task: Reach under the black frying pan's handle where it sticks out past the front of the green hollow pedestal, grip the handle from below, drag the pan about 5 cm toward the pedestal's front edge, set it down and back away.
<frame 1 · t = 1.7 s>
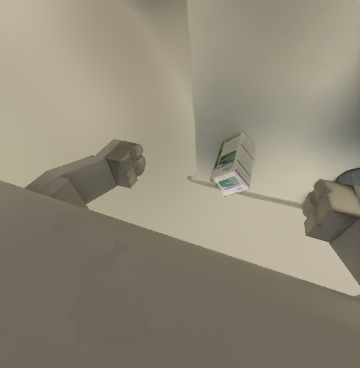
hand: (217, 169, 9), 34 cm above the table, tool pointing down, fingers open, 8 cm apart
syrup box: (239, 144, 45), on the table
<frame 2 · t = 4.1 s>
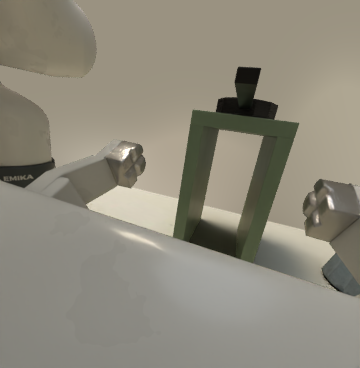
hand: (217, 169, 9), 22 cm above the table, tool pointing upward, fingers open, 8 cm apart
green hollow pedestal: (213, 241, 41), on the table
pan: (242, 121, 35), point 26 cm above the table, touching green hollow pedestal
grey bowl: (347, 285, 34), on the table
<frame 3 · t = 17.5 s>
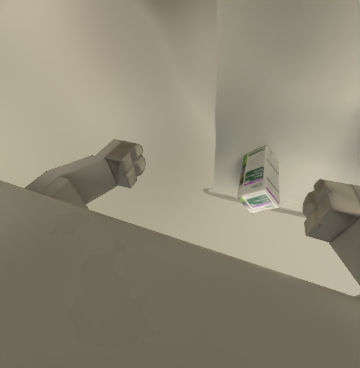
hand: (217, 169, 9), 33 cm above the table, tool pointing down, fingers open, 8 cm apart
syrup box: (261, 158, 44), on the table
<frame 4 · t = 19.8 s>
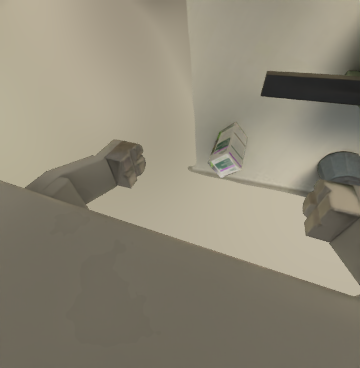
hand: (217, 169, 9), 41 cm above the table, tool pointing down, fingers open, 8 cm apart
syrup box: (233, 134, 51), on the table
grey bowl: (339, 163, 47), on the table
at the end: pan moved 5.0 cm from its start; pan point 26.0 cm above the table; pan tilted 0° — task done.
